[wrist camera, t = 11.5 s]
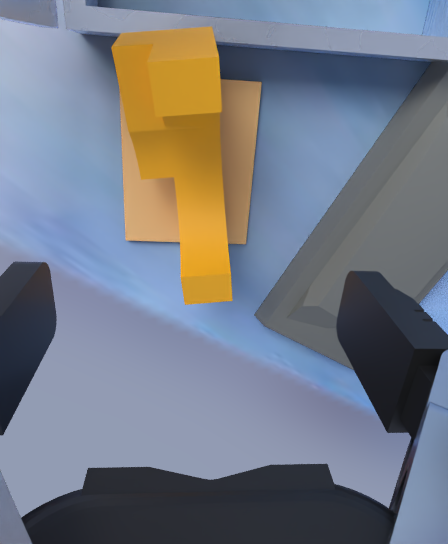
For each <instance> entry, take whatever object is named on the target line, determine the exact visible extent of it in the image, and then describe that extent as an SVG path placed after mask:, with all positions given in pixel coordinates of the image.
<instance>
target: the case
mask: <svg viewBox="0 0 448 544" xmlns="http://www.w3.org/2000/svg"><path fill="white" fill-rule="evenodd" d="M63 5H64V16H65V27H66V29H67V30H70V31H74V32H77V33H80V34H89V35H102V36H114V37H119V36H120V34H121V33H128V32H142V31H156V30H170V29H184V28H198V27H212V29H213V33H214V38H215V42H216V45H226V46H238V47H250V48H263V49H275V50H287V51H300V52H312V53H325V54H337V55H349V56H362V57H374V58H387V59H399V60H411V61H424V62H448V0H430V4H429V8H428V12H427V16H426V20H425V24H424V28H423V33H422V35H414V34H402V33H391V32H379V31H368V30H356V29H345V28H334V27H322V26H311V25H299V24H288V23H276V22H265V21H254V20H242V19H231V18H219V17H208V16H196V15H185V14H174V13H162V12H151V11H139V10H128V9H116V8H105V7H98V0H63Z"/></svg>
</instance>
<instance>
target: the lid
mask: <svg viewBox="0 0 448 544" xmlns="http://www.w3.org/2000/svg"><path fill="white" fill-rule="evenodd" d="M0 19H2V20H8V21H13V22H18V23H23V24H29V25H34V26H39V27H47V28H58V18H57V7H56V0H0Z"/></svg>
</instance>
